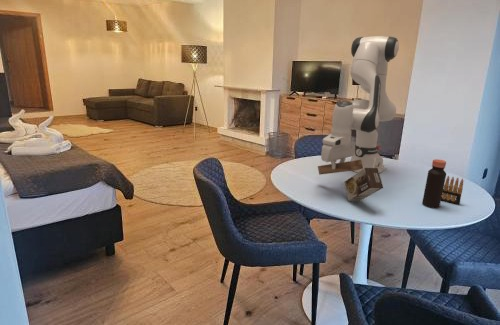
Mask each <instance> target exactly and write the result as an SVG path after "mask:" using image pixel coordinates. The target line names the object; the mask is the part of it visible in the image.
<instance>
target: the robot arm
mask: <svg viewBox="0 0 500 325" xmlns="http://www.w3.org/2000/svg"><path fill="white" fill-rule="evenodd" d="M350 49H351V50H350V53H351V55H352V57H353V60H352V62H351V64H350V65H351V67H350V71H349V72H350V73H349V74H350V77H351V79H352V80H353V81H354V82H355V83H356V84H358V85H360V86H362V88H363V90H364V91H365V92H366V93H367V94H369V99H354V100H350V101H348V100H344V101H343V100H341V101H338V102H336V103H335V105H334V108H333V112H332V119H331V124H332V127H331V129H330V133H329V134H328V135H327V136H325V137H323V139H322V144H323V145H322V146H321V155H320V157H321V158H320V159H321V161H322V162H325V163H330V164H332V169H337V165H336V163H337V161H339V162H338V163H342V162H346V159H347V158H350V161H355V160H360V159H361V161H362V166H363V169H364V168H377V169H378V172H379V174H380V173H382V172H384V171H385V170H387V166H386V165H383V164H384V160H383V159H384V158H383V157H382V156H381V155H380V154H379V153H378V150H381V145H380V146H379V145H378V144H377V143H378V136H379V134H378V131H377V129H378V127H379V123H380V122H388V121H389V122H390V121H392V120H393V119H394V118H395V117H396V114H397V107H396V105H395V104H394V103H393V101H392V100H390V98H389V96H388V95H387V91H386V90H387V89H386V83H387V76H388V66H389V63H390V62H391V61H392V60H393V59H395V57H396V56H397V55H398V53H399V51H400V50H399V49H400V44H399V40H398V38H397V37H394V36H381V35H375V36H365V37H364V36H359V37H356V38H355V39H354V40H353V41H352V43H351V48H350ZM352 130H354V131H356V132H355V134H356V136H355V138H354V136H352ZM361 170H362V169H359V170H356V171H354V172H355V173H358V172H360V171H361Z"/></svg>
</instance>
